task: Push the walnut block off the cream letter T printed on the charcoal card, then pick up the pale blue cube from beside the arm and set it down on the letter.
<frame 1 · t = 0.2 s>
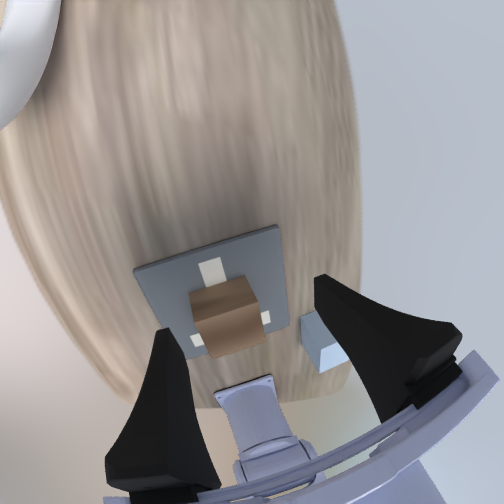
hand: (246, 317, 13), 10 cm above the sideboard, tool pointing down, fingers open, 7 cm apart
blue cube: (319, 322, 31), on the sideboard
letter card: (221, 301, 25), on the sideboard
white curved piece: (52, 0, 8), on the sideboard
walnut block: (223, 305, 24), point 1 cm above the sideboard, touching letter card
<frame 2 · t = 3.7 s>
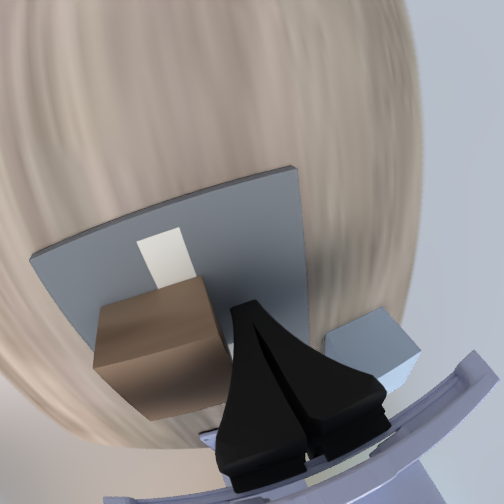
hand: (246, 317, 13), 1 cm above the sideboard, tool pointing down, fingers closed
blue cube: (351, 339, 20), on the sideboard
letter card: (193, 314, 14), on the sideboard
walnut block: (168, 328, 13), point 1 cm above the sideboard, touching gripper
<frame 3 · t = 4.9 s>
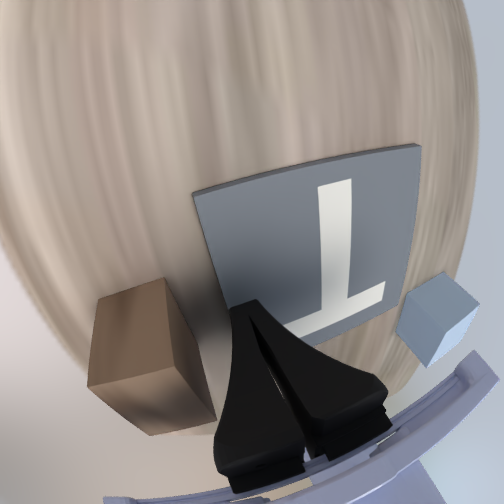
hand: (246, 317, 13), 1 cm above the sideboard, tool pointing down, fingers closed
blue cube: (419, 301, 21), on the sideboard
letter card: (331, 265, 15), on the sideboard
walnut block: (189, 351, 11), point 2 cm above the sideboard, tilted 90°
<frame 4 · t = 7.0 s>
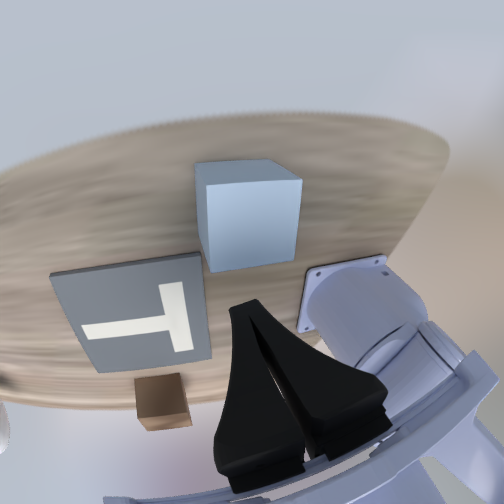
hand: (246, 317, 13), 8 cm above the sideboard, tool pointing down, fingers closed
blue cube: (232, 195, 19), on the sideboard
letter card: (137, 322, 21), on the sideboard
walnut block: (158, 395, 24), point 2 cm above the sideboard, tilted 90°
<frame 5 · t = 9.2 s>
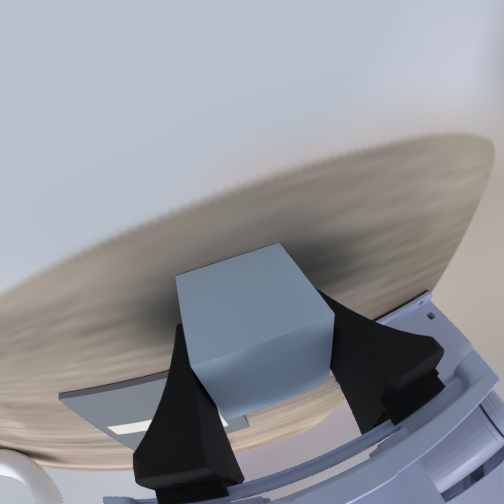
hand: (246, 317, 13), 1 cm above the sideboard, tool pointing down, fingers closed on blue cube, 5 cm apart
blue cube: (238, 298, 14), on the sideboard, touching gripper
letter card: (163, 416, 18), on the sideboard
white curved piece: (11, 449, 17), on the sideboard
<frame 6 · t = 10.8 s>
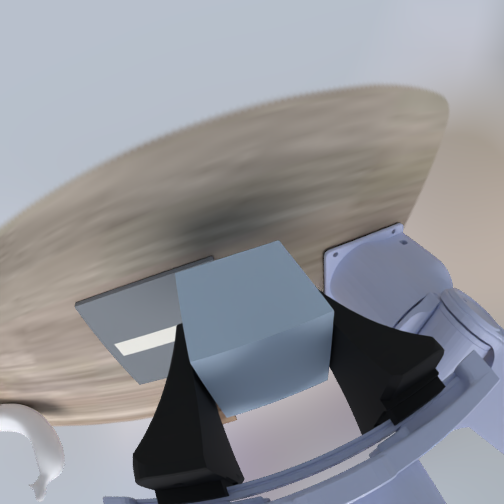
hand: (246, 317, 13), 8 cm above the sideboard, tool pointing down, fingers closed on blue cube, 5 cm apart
blue cube: (238, 296, 14), point 7 cm above the sideboard, touching gripper
letter card: (167, 331, 23), on the sideboard
white curved piece: (15, 403, 22), on the sideboard
when the fingers open (3 cm above the sideboard, at t = 12.8 s): blue cube drops 1 cm, resting on letter card.
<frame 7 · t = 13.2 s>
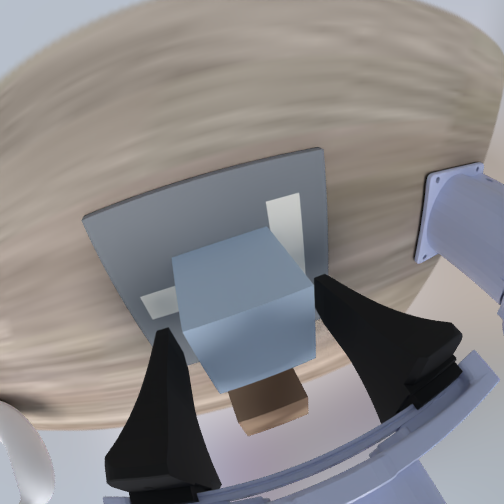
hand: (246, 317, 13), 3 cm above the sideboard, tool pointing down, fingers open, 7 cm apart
blue cube: (230, 279, 15), point 1 cm above the sideboard, touching letter card
letter card: (229, 276, 16), on the sideboard
walnut block: (261, 382, 18), point 2 cm above the sideboard, tilted 90°
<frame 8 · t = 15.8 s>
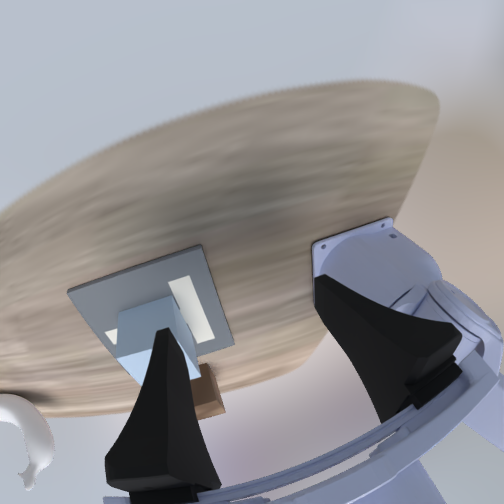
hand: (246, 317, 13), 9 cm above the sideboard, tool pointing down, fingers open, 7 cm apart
blue cube: (156, 323, 23), point 1 cm above the sideboard, touching letter card
letter card: (156, 320, 23), on the sideboard
white curved piece: (8, 393, 22), on the sideboard
walnut block: (189, 387, 26), point 2 cm above the sideboard, tilted 90°
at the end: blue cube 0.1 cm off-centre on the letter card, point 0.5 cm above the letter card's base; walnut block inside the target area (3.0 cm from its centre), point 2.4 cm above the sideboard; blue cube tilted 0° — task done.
